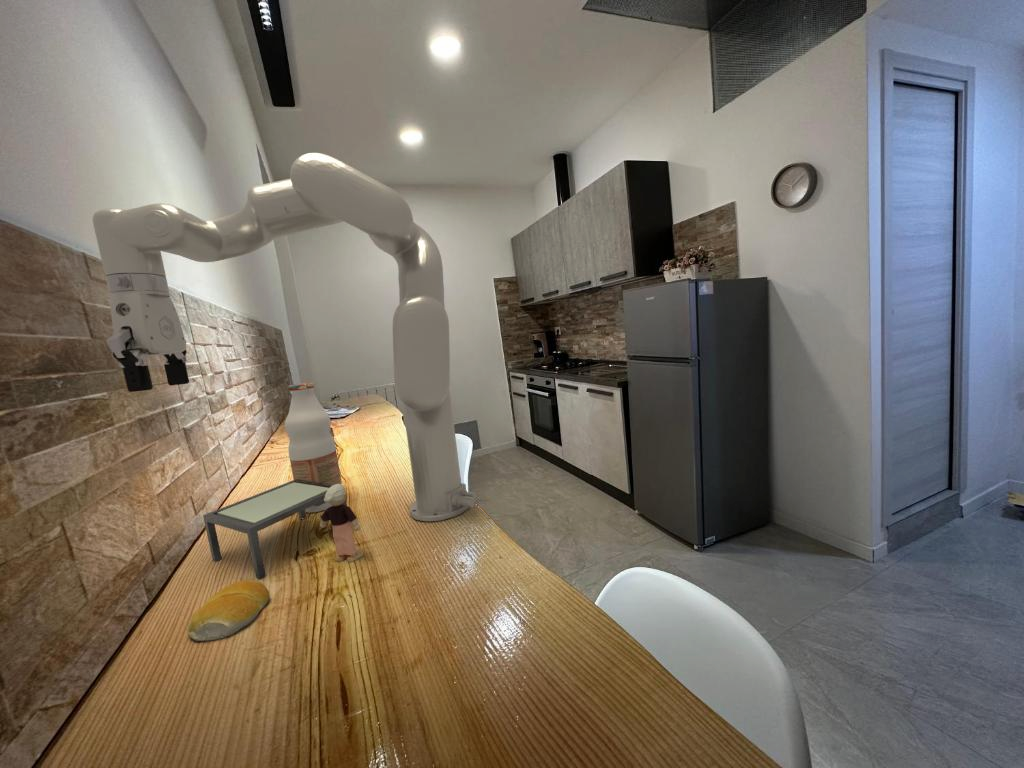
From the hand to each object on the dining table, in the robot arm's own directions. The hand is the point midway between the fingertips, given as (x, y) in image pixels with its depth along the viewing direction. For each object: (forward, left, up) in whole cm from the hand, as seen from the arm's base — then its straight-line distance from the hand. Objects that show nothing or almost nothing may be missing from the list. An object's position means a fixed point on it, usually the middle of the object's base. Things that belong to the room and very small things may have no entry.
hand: (161, 387), depth 68 cm
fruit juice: (-5, -22, -31) cm, 39 cm away
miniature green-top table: (-14, -8, -31) cm, 35 cm away
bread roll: (-27, +7, -32) cm, 42 cm away
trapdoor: (-14, -8, -26) cm, 30 cm away
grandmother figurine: (-30, -9, -31) cm, 45 cm away
